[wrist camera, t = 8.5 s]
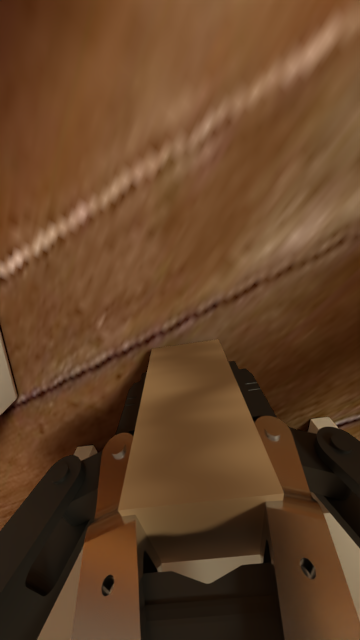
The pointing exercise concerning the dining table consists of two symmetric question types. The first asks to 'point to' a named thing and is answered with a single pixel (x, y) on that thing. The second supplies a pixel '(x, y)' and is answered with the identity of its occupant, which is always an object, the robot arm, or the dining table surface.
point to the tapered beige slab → (197, 459)
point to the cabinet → (204, 563)
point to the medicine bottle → (5, 380)
